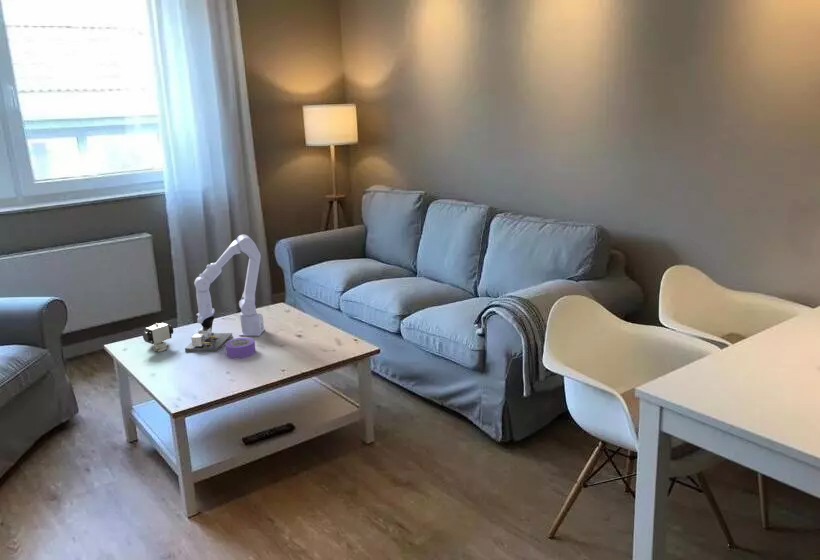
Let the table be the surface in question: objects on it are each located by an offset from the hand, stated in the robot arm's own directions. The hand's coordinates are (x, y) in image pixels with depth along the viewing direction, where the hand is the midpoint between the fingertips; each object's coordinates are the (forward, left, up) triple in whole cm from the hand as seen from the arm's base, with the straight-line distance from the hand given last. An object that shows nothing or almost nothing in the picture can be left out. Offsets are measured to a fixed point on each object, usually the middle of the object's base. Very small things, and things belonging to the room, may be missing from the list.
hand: (208, 333), depth 304 cm
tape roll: (-20, +16, -3) cm, 26 cm away
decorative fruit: (+21, +5, -3) cm, 22 cm away
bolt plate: (-2, +5, -3) cm, 6 cm away
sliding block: (-1, +4, -1) cm, 4 cm away
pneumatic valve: (+17, +12, -3) cm, 21 cm away
